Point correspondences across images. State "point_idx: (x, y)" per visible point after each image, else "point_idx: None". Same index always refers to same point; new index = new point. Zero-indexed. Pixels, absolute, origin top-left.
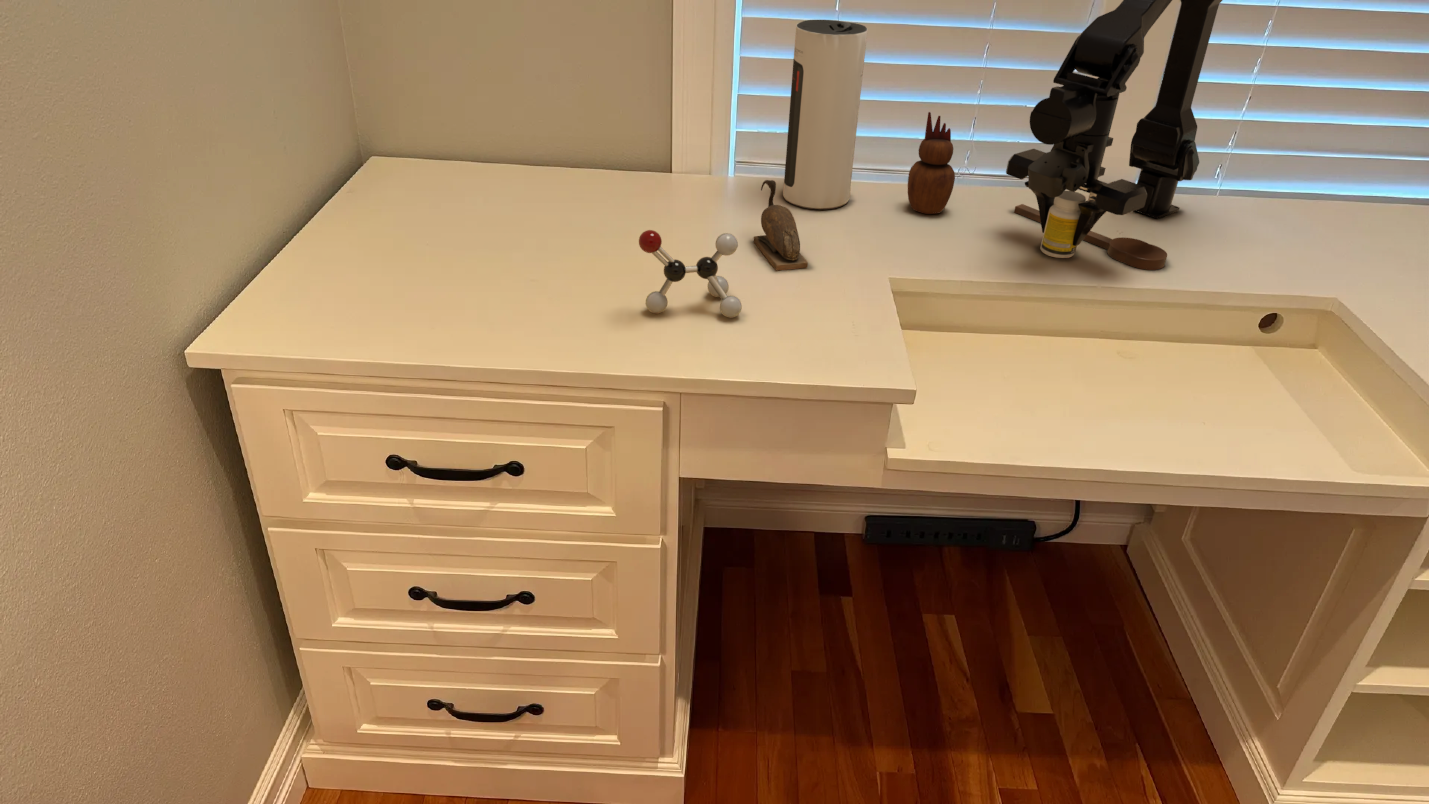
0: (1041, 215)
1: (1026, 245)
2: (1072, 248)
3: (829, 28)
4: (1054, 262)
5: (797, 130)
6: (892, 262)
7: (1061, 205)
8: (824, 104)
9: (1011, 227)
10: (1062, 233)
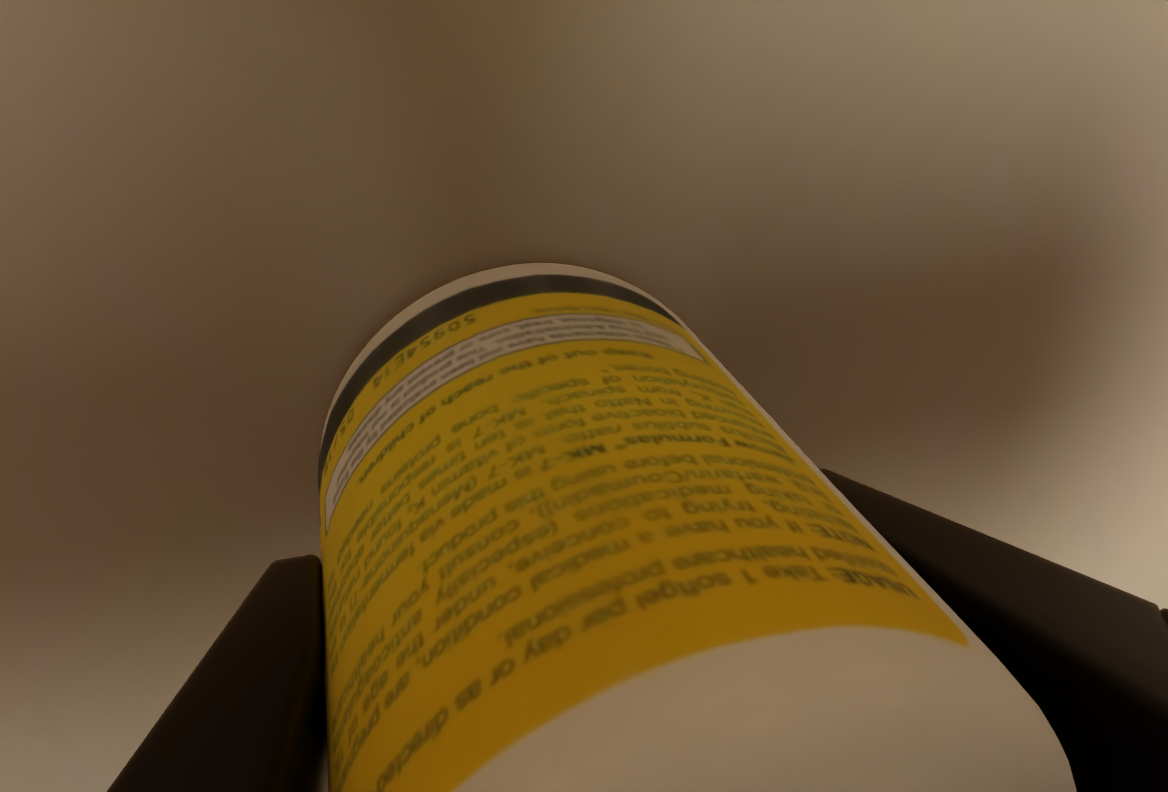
0: (1039, 576)
1: (837, 275)
2: (320, 533)
3: None
4: (324, 194)
5: None
6: None
7: None
8: None
9: (1119, 456)
10: (441, 499)
